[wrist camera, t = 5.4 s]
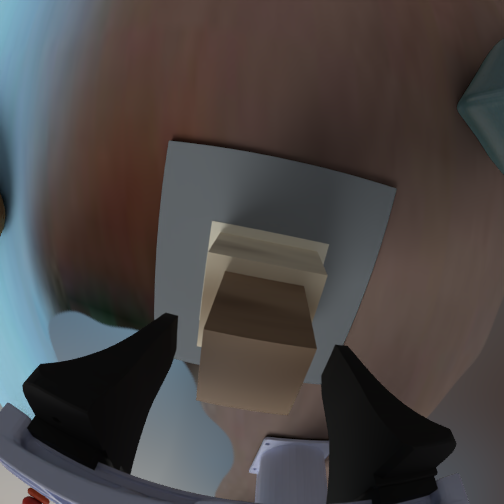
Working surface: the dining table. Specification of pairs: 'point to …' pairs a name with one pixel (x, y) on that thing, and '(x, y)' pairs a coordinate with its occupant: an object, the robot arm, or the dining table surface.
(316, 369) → the build mat
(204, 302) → the base block
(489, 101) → the flower pot
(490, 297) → the dining table surface
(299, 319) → the walnut block
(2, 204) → the bread roll
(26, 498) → the stacking toy
